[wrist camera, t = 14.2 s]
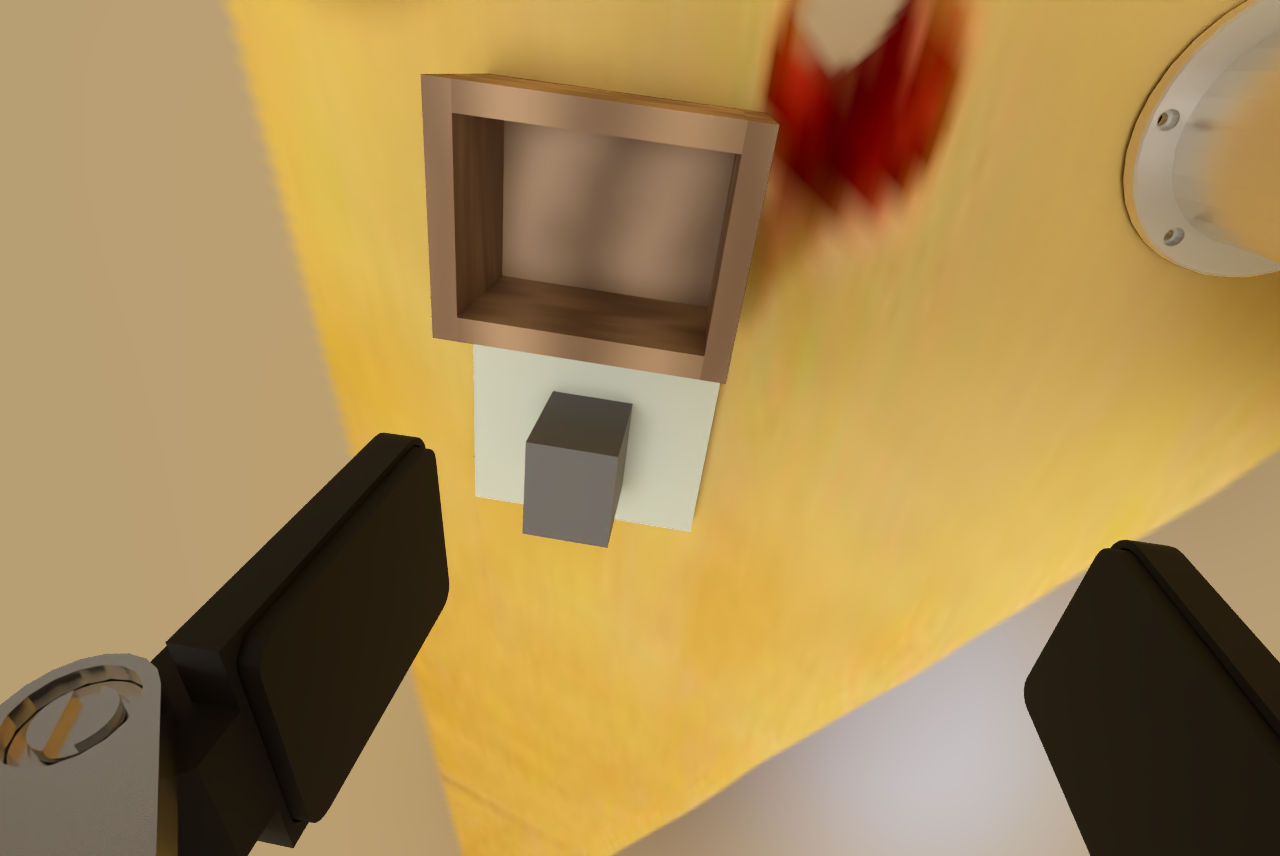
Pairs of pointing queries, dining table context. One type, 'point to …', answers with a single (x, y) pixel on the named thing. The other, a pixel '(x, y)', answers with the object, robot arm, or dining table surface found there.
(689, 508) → the lid
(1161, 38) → the dining table surface
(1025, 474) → the dining table surface
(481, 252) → the wooden box
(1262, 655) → the robot arm
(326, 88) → the dining table surface
